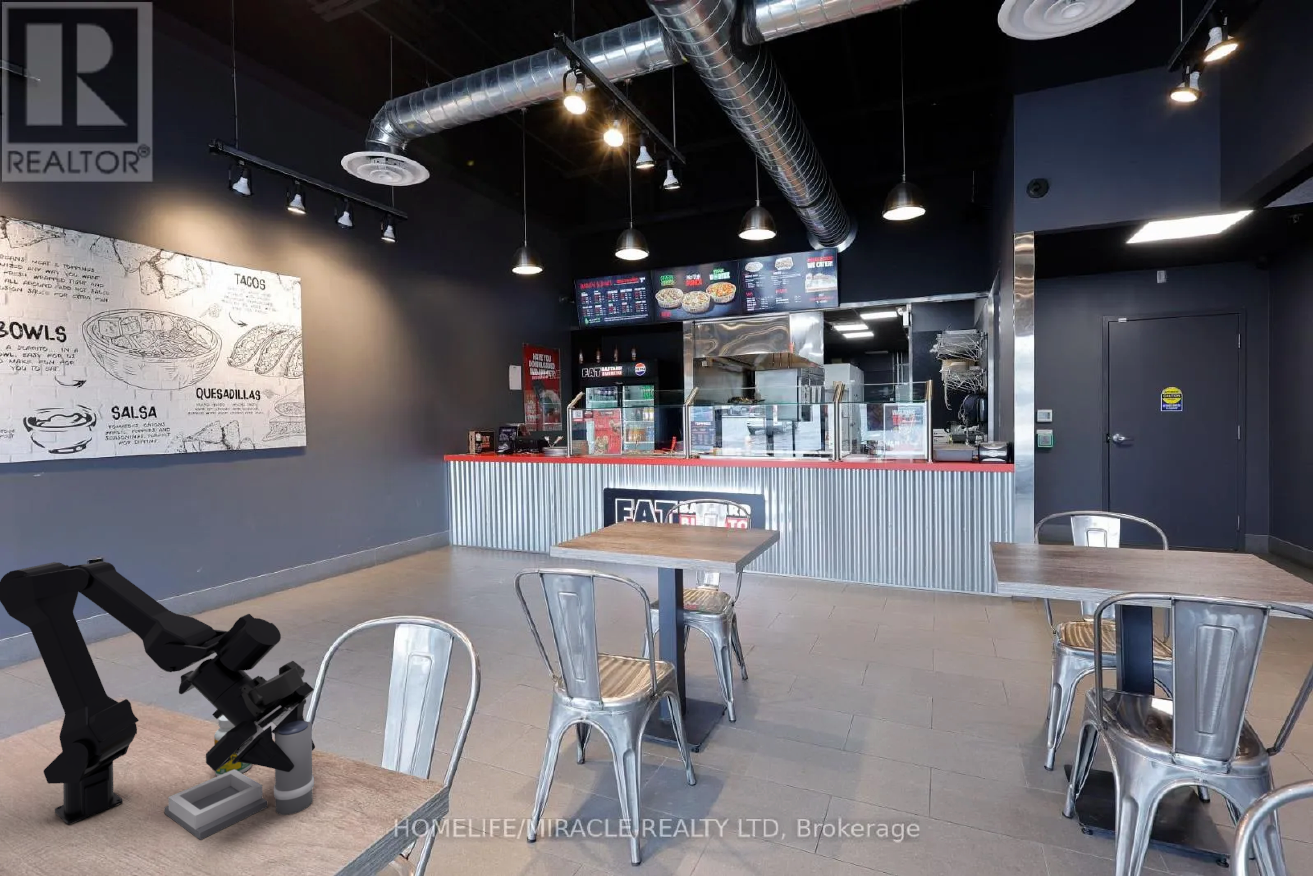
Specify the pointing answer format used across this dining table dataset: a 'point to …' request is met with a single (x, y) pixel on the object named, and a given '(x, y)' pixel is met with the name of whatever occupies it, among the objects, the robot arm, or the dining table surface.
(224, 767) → the supplement bottle
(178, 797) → the grey white tray
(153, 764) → the dining table surface
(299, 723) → the lens
